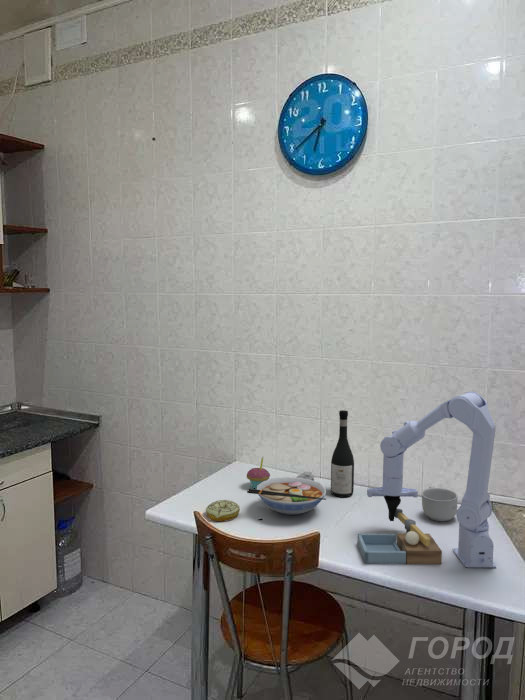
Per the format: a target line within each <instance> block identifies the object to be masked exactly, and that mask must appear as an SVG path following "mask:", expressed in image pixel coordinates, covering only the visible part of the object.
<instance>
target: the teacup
mask: <svg viewBox="0 0 525 700" xmlns="http://www.w3.org/2000/svg"><path fill="white" fill-rule="evenodd" d="M420 494H421V505H422V511H423V512H424V514H425V515H426V516H427V517H428V518H429V519H431V520H432V521H435V522H436V521H437V522H448V521H450V520H452V519H453V518H455V516H456V513H457V510H458V497H459V495H458V493H456V492H455V491H454V490H451V489H448V488H443V487H435V486H434V485H430V486H429V487H428V488H426V489H423V490H422V491H421V493H420Z"/></svg>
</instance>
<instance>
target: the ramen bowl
mask: <svg viewBox="0 0 525 700" xmlns="http://www.w3.org/2000/svg"><path fill="white" fill-rule="evenodd" d="M246 493H247V494H253V495H258V497H259V498H260V499H261V501H263V502H262V503H264V504H265V506H267V507H268V509H271V510H272V511H274V512H277V513H281V514H283V515H288V516H296V515H300V514H305V513H308V512H310V511H312V510H313V509H315V508H316V507H317V506H318V505H319V504H320V503H321V502H322V501H323V500H324V501H326V500H327V498H325V496H326V494H327V490H326V486H324V485H323V484H321V483H320V482H319V481H315V480H314V481H313V480H310V479H304V478H299V477H297V476H296V477H295V476H290V477H289V476H283V477H275V478H269V479H268V480H266V481H263V482H262V483H260V484H259V485H257V489H254V488H248V490H247V492H246Z"/></svg>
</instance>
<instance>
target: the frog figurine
mask: <svg viewBox="0 0 525 700" xmlns="http://www.w3.org/2000/svg"><path fill="white" fill-rule="evenodd" d="M296 477H299V478H304V479H310V480H313V481H315V476H314V475H313V473H312V471H304V472H302V473H300V474H298V475H297V476H296Z"/></svg>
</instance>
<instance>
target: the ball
mask: <svg viewBox="0 0 525 700" xmlns="http://www.w3.org/2000/svg"><path fill="white" fill-rule="evenodd" d="M405 538H406V541H407V543H409V544H410V545H416V544H417V543H418V542H419V536H418V534H417V533H416V532H414V531H409V532H408V533H407V534H406V537H405Z"/></svg>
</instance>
